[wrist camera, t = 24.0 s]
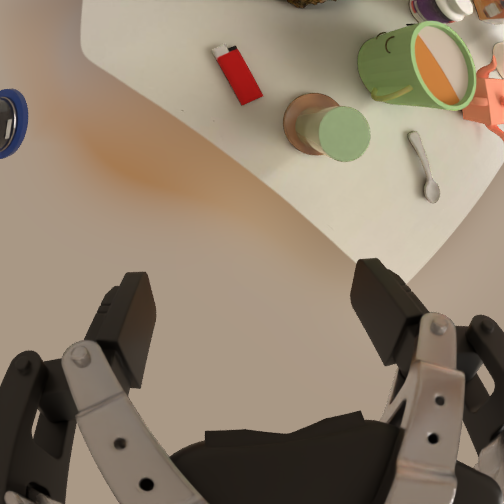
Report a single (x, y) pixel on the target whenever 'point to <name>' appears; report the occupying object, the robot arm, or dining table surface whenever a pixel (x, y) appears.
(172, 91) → the dining table surface
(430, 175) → the spoon
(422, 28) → the mug
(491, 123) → the teapot
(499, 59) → the cup
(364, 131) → the green cylinder
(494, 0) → the small box
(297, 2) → the seashell
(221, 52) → the lighter
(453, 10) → the pill bottle
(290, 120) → the coaster
